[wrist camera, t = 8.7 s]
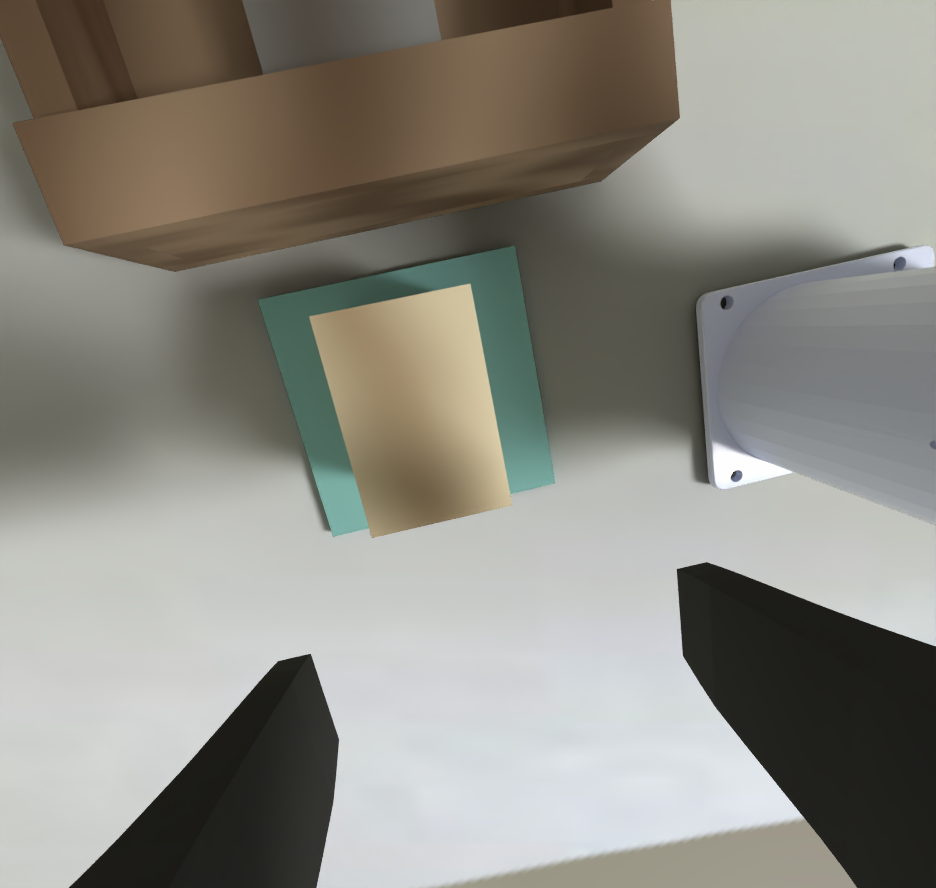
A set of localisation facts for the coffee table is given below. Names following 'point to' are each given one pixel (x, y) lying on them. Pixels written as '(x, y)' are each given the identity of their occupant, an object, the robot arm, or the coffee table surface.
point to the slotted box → (322, 113)
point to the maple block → (415, 408)
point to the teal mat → (502, 352)
